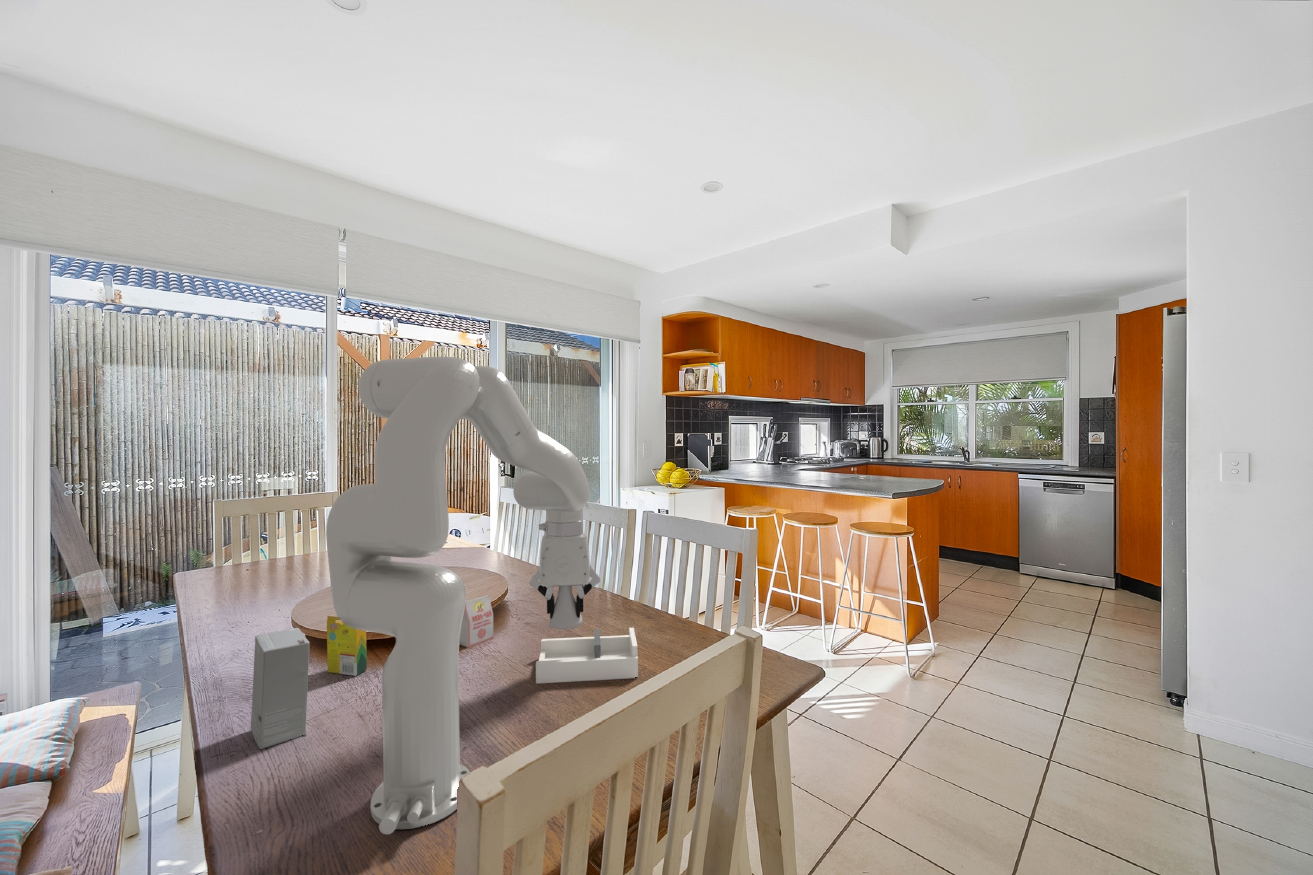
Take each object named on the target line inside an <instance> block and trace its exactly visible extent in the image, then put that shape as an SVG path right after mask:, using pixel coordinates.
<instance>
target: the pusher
mask: <svg viewBox="0 0 1313 875" xmlns="http://www.w3.org/2000/svg"><path fill="white" fill-rule="evenodd" d="M593 633H594V634H593V635H594V636H593V637H594V658H601V645H600V636H601V628H594V630H593Z"/></svg>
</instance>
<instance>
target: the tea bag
mask: <svg viewBox="0 0 1313 875" xmlns="http://www.w3.org/2000/svg"><path fill="white" fill-rule="evenodd" d="M489 639H490V640H492V639H494V612H493V607H492V603H491V599H490V595H488V594H487V595H484V596H480V597H477V598H474V599H469V600H466V603H465V610H464V615H463V620H462V625H461V631H460V640H459V645H461V646H463V647H465V648H467V649H468V648H471V647H474V646H477V645H480V644H482V643H485V642H487V641H490V640H489Z"/></svg>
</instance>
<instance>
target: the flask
mask: <svg viewBox="0 0 1313 875" xmlns="http://www.w3.org/2000/svg"><path fill="white" fill-rule="evenodd" d="M556 596H557V597H556V599H555V605H554V614H553V617H552V618H551V619H550V618H549V620H548V624H547V627H548V628H552V629H556V630H570V629H571V630H572V629H575V628H578V627H579V626H581V625H583V616H582V614H581V613H580V618H577V615H576V597H575V596H574V593H573V586H558V591H557V595H556Z"/></svg>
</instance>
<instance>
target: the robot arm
mask: <svg viewBox="0 0 1313 875" xmlns="http://www.w3.org/2000/svg"><path fill="white" fill-rule="evenodd" d="M357 387H358V394H359V395H358V396H359V398H360V401H361V402H362V404H363V405H364V407H365V409H367V410H368V411H369V412H370V413H371V414H373V415H375V416H377V417H380V419H381V418H382V419H385V420H386V419H387V420H386V421H385V422H384V424H383V426H382V427H381V429H380V432H379V434H378V436H377V439H376V442H375V446H374V457H373V458H374V483H363V484H358V485H354V486H352V487H349V488H348V489H346V490H344V491H343V492H341V494H339V496H338V497H337V498H336V499H335V500H334V502H333V504H332V506H331V507H330V511H329V513H328V516H327V519H326V520H327V521H326V527H325V536H326V537H325V538H326V551H327V559H328V560H327V561H328V572H329V580H330V581H329V582H330V583H329V584H330V589H331V591H330V592H331V599H332V602H333V603H332V604H333V609H334V611H335V614H336V615H337V616H336V617H339V619H340V620H339V621H342V622H343V623H344V624H345V625H347V626H349V627H351V628H354V629H358V630H363V631H366V632H371V633H377V634H384V635H386V636H392V637H394V638H395V644H394V647H393V648H392V650H391V652H390V654H389V656H388V657H387V659H386V661H385V663H384V667H383V669H382V675H381V692H382V749H383V750H382V754H383V756H382V759H383V760H382V761H383V762H382V764H383V766H382V767H383V770H382V772H383V781H382V782H381V783H380V784H379V785H378V787H377V788H376V789H375V790H374V792H373V793H372V796H371V798H370V814H371V818H372V819H373V821H374V822H376V823H377V824H378V830H379V831H380V833H381V834H383V835H391V834H393V833H394V832H395V830H411V829H416V828H421V826H422V827H425V825H426V826H428V824H429V825H431V824H434V823H436V822H438V821H440V820H442V819H445V818H447V817H448V816H449V815H451V814H452V813H454V812H455V811H456V810H457V809H458V808H457V789H458V787H459V781H460V779H461V778H462V777H464V776H465V775H467V774H469V773H470V774H471V772H470V770H469V769H468V768H467V767H466V766H465V765H463V764H462V763H461V762H460V757H461V756H460V753H461V752H460V746H461V745H460V677H459V675H460V673H459V672H460V670H459V666H460V665H459V663H460V662H459V656H460V653H459V650H460V644H459V640H460V631H461V625H462V620H463V615H464V610H465V603H466V601H467V590H466V586H465V584H464V581H463V580H462V579H461V577H460V576H459V575H458V574H457V573H456V572H454V571H453V570H451V569H450V568H447V567H443V566H440V565H436V564H427V563H421V562H420V563H419V562H410V561H409V562H405V561H393V560H392V557H393V558H405V559H406V558H407V559H410V558H411V559H414V558H415V559H416V558H417V559H419V558H420V559H421V558H425V557H429V556H433V555H435V554H436V553H438V552H439V551H441V550H442V549H443V547H444V546H445V545H446V542H447V540H448V536H449V530H450V528H449V527H450V526H449V525H450V523H449V519H450V518H449V504H448V501H449V500H448V490H447V489H448V488H447V475H446V451H447V445H448V442H449V439H450V437H451V434H452V433H453V431H454V429H455V427H456V426H457V424H458V423H460V420H467V421H468V422H470V424H471V425H472V426H473V428H475V429H474V430H476V431H477V433H478V435H479V436H480V437H481V439H482V440H483V442H484V443H485V445H486V446H487V448H488V449H489V451H490V452H491V454H492V455H493V456H494V457H495V458H497V459H498V460H499V461H502V462H504V463H505V464H509V465H512V466H514V467H516V468H519V469H523V470H527V472H524V473H523V474H521V475H520V476H519V477H518V478H517V479H516V480H515V482H514V486H513V489H512V492H513V494H512V495H513V499H514V500H515V501H516V503H517V504H518V505H519V506H520V507H522V508H524V509H526V510H531V511H532V510H533V511H545V520H546V521H544V522H543V523H539V524H538V530H539V531H543V532H545V534H544V535H543V536H542V537H541V543H540V550H539V568H538V569H537V571H536V572H535V573H534V574H533V576H532V578H530V579H529V583H528V584H529V586H531V587H532V588H533V589H535V590H537V591H538V592H539V593H540V594H541V595H542V597H544V598H545V599H546V614H549V620H550V619H551V618H552V617H553V614H554V605H555V602H556V599H555V596H554V593H553V592H554V588H556V587H559V586H572V587H575V589H576V592H577V594H576V597H575V601H576V615H577V618H580V614H581V613H584V598H585V597H586V595H587V594H588V593H589V592H590V591H591V590H592V589H593V588H594V587H595V586H597V585H599V583H600V582H601V577H600V576H599V575H598V573H597V572H596V570H594V569H593V567H592V566H591V564H590V562H591V561H590V548H589V540H588V536H587V534H586V533H584V507H585V506H586V504H587V503H588V500H589V498H590V486H589V481H588V479H587V478H588V477H587V476H586V473H585V471H584V469H583V467H582V465H581V463H580V462H579V460H578V457H576V456H575V455H574V453H573V452H572V451H570V450H569V449H568V448H567V447H565V445H562V444H561V443H560V442H558V441H557V440H555V439H553V437H551V436H549V435H548V434H546V433H545V432H543V431H541V430H539V429H538V428H537V427H536V426H535V425H534V423H533V421H532V419H531V417H530V416H529V414H528V413H527V411H526V409H525V407H524V405H523V404H522V402H521V399H520V398H519V397H518V395H517V393H516V391H515V390H514V387H513V386H512V384H511V383H510V381H509V379H508V378H507V377H506V375H505V374H504V373H503V372H502V371H500V370H499V369H497V368H496V367H492V366H487V365H486V366H483V365H477V366H476V365H475V366H474V364H473V363H471V362H470V361H468V360H466V359H463V358H461V357H460V358H459V357H454V356H421V357H414V358H413V357H411V358H409V357H408V358H390V359H388V358H387V359H381V360H378V361H375V362H373V363H371V364H370V365H368V366H367V367H366V368H365V369H364V370H363V372H362V373H361V375H360V378H359V381H358V386H357Z"/></svg>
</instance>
